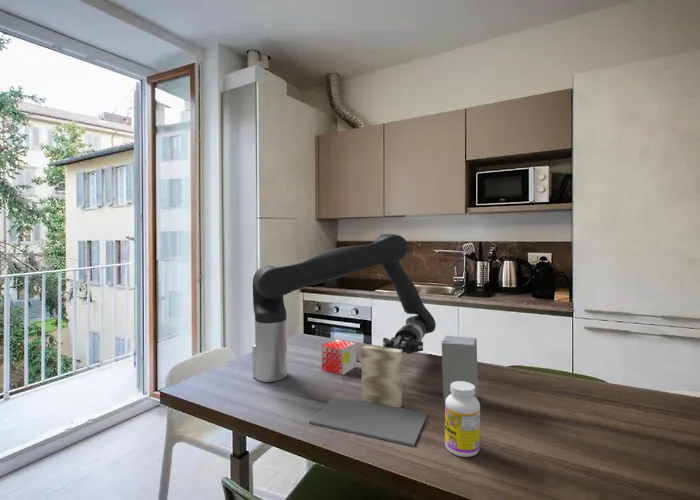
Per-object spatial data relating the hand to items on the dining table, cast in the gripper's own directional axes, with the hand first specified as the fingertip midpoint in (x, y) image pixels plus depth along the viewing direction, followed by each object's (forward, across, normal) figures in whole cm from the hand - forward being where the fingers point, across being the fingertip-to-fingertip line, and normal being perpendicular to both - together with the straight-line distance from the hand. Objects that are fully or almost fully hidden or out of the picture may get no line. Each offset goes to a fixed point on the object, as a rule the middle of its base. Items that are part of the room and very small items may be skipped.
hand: (394, 353), depth 105 cm
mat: (+20, 0, +9) cm, 22 cm away
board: (+11, 0, +9) cm, 15 cm away
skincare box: (+1, +18, +10) cm, 20 cm away
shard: (-19, -22, +10) cm, 31 cm away
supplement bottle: (+24, +21, +10) cm, 33 cm away
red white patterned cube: (-7, -20, +10) cm, 23 cm away
